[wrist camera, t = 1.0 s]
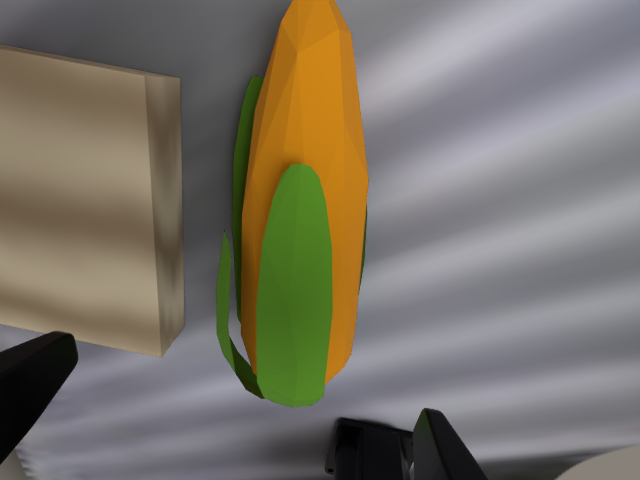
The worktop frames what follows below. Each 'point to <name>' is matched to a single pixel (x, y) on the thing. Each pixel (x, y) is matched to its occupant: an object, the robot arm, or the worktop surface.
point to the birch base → (90, 201)
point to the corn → (297, 212)
